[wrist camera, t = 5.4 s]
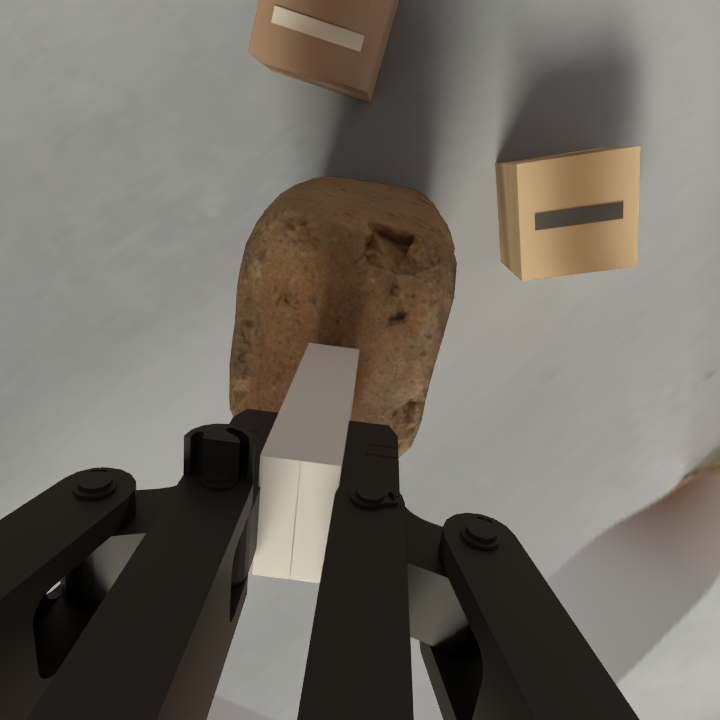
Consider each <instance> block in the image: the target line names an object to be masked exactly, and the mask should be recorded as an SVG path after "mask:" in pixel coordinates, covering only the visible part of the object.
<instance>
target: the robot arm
mask: <svg viewBox="0 0 720 720" xmlns="http://www.w3.org/2000/svg"><path fill="white" fill-rule="evenodd" d="M358 357H359V349H353V348H345V347H337V346H330V345H322V344H314V343H309V344H308V346H307V349H306V351H305V353H304V356H303V358H302V360H301V363H300V365H299V367H298V369H297V372H296V374H295V376H294V379H293V381H292V383H291V386H290V388H289V390H288V392H287V395H286V397H285V399H284V402H283V404H282V406H281V409H280V411H279V413H278V412H270V411H262V410H255V409H246V410H244V411H243V412H241V413H239V414H237V415H236V416H234V417H233V419H232V420H231V422H230V424H210V425H204V426H200V427H198V428H195V429H192V430H191V431H189V432H188V433H187V434H186V435H185V436H184V475H183V477H182V478H181V480H180V481H179V483H178V484H177V486H173V487H169V488H161V489H149V490H136V481H135V479H134V478H133V477H132V475H131V474H129V473H127V472H125V471H123V470H120V469H114V468H103V467H101V468H91V469H88V470H84V471H80V472H76V473H74V474H72V475H70V476H68V477H66V478H64V479H63V480H61V481H59V482H58V483H56V484H55V485H53V486H52V487H50V488H49V489H47V490H46V491H44V492H42V493H41V494H39V495H38V496H36V497H35V498H33V499H32V500H30V501H29V502H27V503H26V504H24V505H22V506H21V507H19V508H18V509H16V510H15V511H13V512H12V513H10V514H9V515H7V516H5V517H4V518H2V519H1V520H0V720H206V719H207V716H208V713H209V710H210V707H211V704H212V700H213V697H214V694H215V691H216V688H217V685H218V682H219V679H220V676H221V673H222V669H223V666H224V663H225V660H226V657H227V654H228V651H229V648H230V645H231V642H232V638H233V635H234V632H235V629H236V626H237V623H238V620H239V617H240V614H241V611H242V607H243V604H244V601H245V598H246V595H247V582H248V572H249V569H250V566H251V563H252V560H253V575H261V576H268V577H276V578H283V579H291V580H299V581H306V582H314V583H320V586H319V592H318V598H317V604H316V610H315V616H314V622H313V628H312V634H311V640H310V646H309V652H308V658H307V664H306V670H305V676H304V682H303V688H302V694H301V700H300V706H299V712H298V718H297V720H414V718H413V693H412V669H411V644H410V637H412V638H415V639H417V640H419V641H420V650H421V654H422V657H423V660H424V663H425V666H426V669H427V672H428V675H429V678H430V681H431V684H432V687H433V690H434V693H435V696H436V699H437V702H438V704H439V708H440V711H441V713H442V716H443V719H444V720H639V718H638V717H637V715H636V714H635V712H634V711H633V709H632V708H631V706H630V705H629V703H628V702H627V700H626V699H625V698H624V696H623V695H622V693H621V692H620V690H619V689H618V687H617V686H616V684H615V683H614V681H613V680H612V678H611V677H610V675H609V674H608V672H607V671H606V669H605V668H604V666H603V665H602V663H601V662H600V661H599V659H598V658H597V656H596V655H595V653H594V652H593V650H592V649H591V647H590V646H589V644H588V643H587V641H586V640H585V638H584V637H583V635H582V634H581V632H580V631H579V629H578V628H577V626H576V625H575V623H574V622H573V621H572V619H571V618H570V616H569V615H568V613H567V612H566V610H565V609H564V607H563V606H562V604H561V603H560V601H559V600H558V598H557V597H556V595H555V594H554V592H553V591H552V589H551V588H550V586H549V585H548V583H547V582H546V581H545V579H544V578H543V576H542V575H541V573H540V572H539V570H538V569H537V567H536V566H535V564H534V563H533V561H532V560H531V558H530V557H529V555H528V554H527V552H526V551H525V549H524V548H523V546H522V545H521V544H520V542H519V541H518V539H517V538H516V536H515V535H514V534H513V533H512V532H511V531H510V530H509V529H508V528H507V526H505V525H503V524H502V523H500V522H498V521H497V520H495V519H493V518H490V517H488V516H485V515H481V514H473V513H463V514H456V515H454V516H452V517H450V518H449V519H447V520H446V522H445V524H444V526H443V527H441V526H439V525H436V524H433V523H430V522H428V521H425V520H423V519H421V518H419V517H417V516H416V515H414V514H413V513H411V512H410V511H409V510H408V509H407V508H406V507H405V503H404V500H403V497H402V495H401V494H400V491H399V460H398V436H397V435H396V434H395V432H394V431H393V430H392V429H391V427H390V426H389V425H382V424H374V423H366V422H359V421H351V413H352V405H353V397H354V389H355V381H356V373H357V365H358ZM253 557H254V559H253ZM59 581H60V582H61V584H60V585H59V586H58V587H56V588H55V589H54V590H53V591H52V592H50V593H48V594H46V593H47V592H48V591H49V590H50V589H51V588H52V587H53V586H54V585H55V584H56V583H58V582H59Z"/></svg>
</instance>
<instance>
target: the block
mask: <svg viewBox="0 0 720 720" xmlns="http://www.w3.org/2000/svg"><path fill="white" fill-rule="evenodd" d="M454 249H455V248H454V244H453V241H452V237H451V233H450V230H449V228H448V225H447V224H446V222H445V221H444V219H443V218H442V217H441V215H440V214H439V211H438V210H437V208H436V207H435V205H434V204H433V203H432V202H431V201H430V200H429V199H428V198H427V197H425V196H424V195H423V194H421V193H419V192H416V191H414V190H411V189H407V188H403V187H398V186H393V185H387V184H380V183H375V182H369V181H362V180H356V179H350V178H340V177H319V178H313V179H311V180H308V181H306V182H303V183H300V184H297V185H295V186H293V187H291V188H289V189H288V190H286V191H285V192H283V193H281V194H280V195H279V196H278V197H277V198H276V199H275V200H274V201H273V203H272V204H271V205H270V206H269V207H268V208H267V209H266V210H265V211H264V213H263V215H262V216H261V217H260V219H259V220H258V221H257V223H256V225H255V227H254V229H253V231H252V233H251V235H250V237H249V239H248V241H247V243H246V247H245V251H244V255H243V259H242V263H241V268H240V273H239V279H238V286H237V298H236V315H235V327H234V333H233V340H232V349H231V358H230V392H229V398H230V410H231V412H232V414H233V417H234V416H236V415H237V414H239V413H241V412H243V411H244V410H246V409H255V410H262V411H270V412H278V413H279V411H280V409H281V406H282V404H283V402H284V399H285V397H286V395H287V392H288V390H289V388H290V386H291V383H292V381H293V379H294V376H295V374H296V372H297V369H298V367H299V365H300V363H301V360H302V358H303V356H304V353H305V351H306V349H307V346H308V344H309V343H314V344H322V345H330V346H337V347H345V348H353V349H359V357H358V365H357V373H356V381H355V389H354V397H353V405H352V413H351V421H359V422H366V423H374V424H382V425H389V426H390V427H391V429H392V430H393V431H394V432H395V434H396V435H397V436H398V458H399V457H400V456H401V455H402V454H403V453H404V452H406V451H407V450H408V449H409V448H410V447H411V446H412V443H413V441H414V439H415V436H416V434H417V431H418V429H419V426H420V423H421V420H422V415H423V410H424V405H425V400H426V396H427V392H428V388H429V384H430V380H431V377H432V373H433V369H434V366H435V362H436V359H437V356H438V352H439V349H440V345H441V342H442V339H443V335H444V332H445V328H446V324H447V321H448V317H449V314H450V310H451V306H452V303H453V299H454V291H455V279H456V266H457V262H456V259H455V255H454Z"/></svg>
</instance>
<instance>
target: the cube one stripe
mask: <svg viewBox="0 0 720 720" xmlns="http://www.w3.org/2000/svg"><path fill="white" fill-rule="evenodd" d="M495 167H496V184H497V202H498V219H499V236H500V254H501V262H502V263H503V264H504V265H505V266H506V267H507V268H508V269H509V270H510V271H511V272H513V273H514V274H515V275H516V276H517V277H518V278H519V279H520V280H521V281H527V280H535V279H542V278H550V277H558V276H566V275H573V274H581V273H589V272H597V271H604V270H612V269H620V268H628V267H636V266H637V258H638V218H639V178H640V146H627V147H607V148H594V149H587V150H581V151H574V152H567V153H561V154H554V155H547V156H541V157H534V158H527V159H520V160H514V161H507V162H500V163H495Z"/></svg>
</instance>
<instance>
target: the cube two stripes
mask: <svg viewBox="0 0 720 720" xmlns="http://www.w3.org/2000/svg"><path fill="white" fill-rule="evenodd" d="M398 4H399V0H259V1H258V6H257V11H256V16H255V21H254V26H253V31H252V36H251V41H250V46H249V51H248V53H249V54H250V55H252V56H253V57H254V58H256V59H257V60H258V61H260V62H261V63H262V64H264V65H265V66H266V67H268V68H269V69H270V70H272V71H274V72H277V73H280V74H283V75H286V76H289V77H292V78H295V79H298V80H301V81H304V82H307V83H310V84H313V85H317V86H320V87H323V88H326V89H329V90H332V91H335V92H338V93H341V94H344V95H347V96H350V97H353V98H356V99H359V100H362V101H365V102H368V103H371V100H372V96H373V93H374V89H375V86H376V82H377V79H378V75H379V71H380V68H381V64H382V61H383V57H384V54H385V50H386V47H387V43H388V39H389V36H390V32H391V29H392V25H393V22H394V18H395V14H396V11H397V7H398Z"/></svg>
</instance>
